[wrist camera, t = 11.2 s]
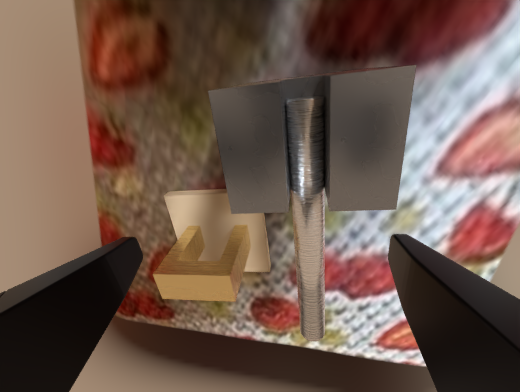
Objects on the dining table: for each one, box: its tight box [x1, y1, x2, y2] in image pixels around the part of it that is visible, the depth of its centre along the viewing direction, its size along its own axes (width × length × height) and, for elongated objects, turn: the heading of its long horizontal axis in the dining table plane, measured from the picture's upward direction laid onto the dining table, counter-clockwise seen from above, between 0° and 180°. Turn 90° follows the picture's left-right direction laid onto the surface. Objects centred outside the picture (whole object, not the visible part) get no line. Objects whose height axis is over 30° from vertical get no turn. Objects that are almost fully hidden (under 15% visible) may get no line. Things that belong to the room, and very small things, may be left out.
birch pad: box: [164, 189, 271, 272], centre depth 24 cm, size 9×9×1 cm
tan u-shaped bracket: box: [153, 225, 251, 302], centre depth 21 cm, size 6×2×6 cm, turn 97°
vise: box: [208, 65, 416, 341], centre depth 18 cm, size 8×19×9 cm, turn 7°
